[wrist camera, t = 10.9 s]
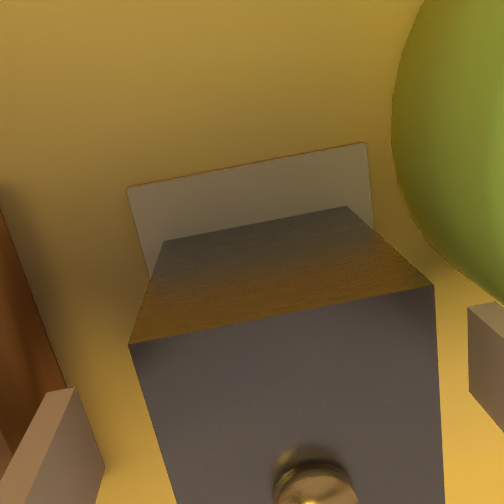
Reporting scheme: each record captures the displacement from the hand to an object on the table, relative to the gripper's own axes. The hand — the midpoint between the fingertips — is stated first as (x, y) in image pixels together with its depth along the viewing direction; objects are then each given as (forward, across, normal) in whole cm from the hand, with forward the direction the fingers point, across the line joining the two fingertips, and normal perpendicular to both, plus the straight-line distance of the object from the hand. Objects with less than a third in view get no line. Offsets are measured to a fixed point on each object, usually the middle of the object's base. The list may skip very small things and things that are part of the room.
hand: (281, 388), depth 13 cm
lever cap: (+5, 0, 0) cm, 5 cm away
